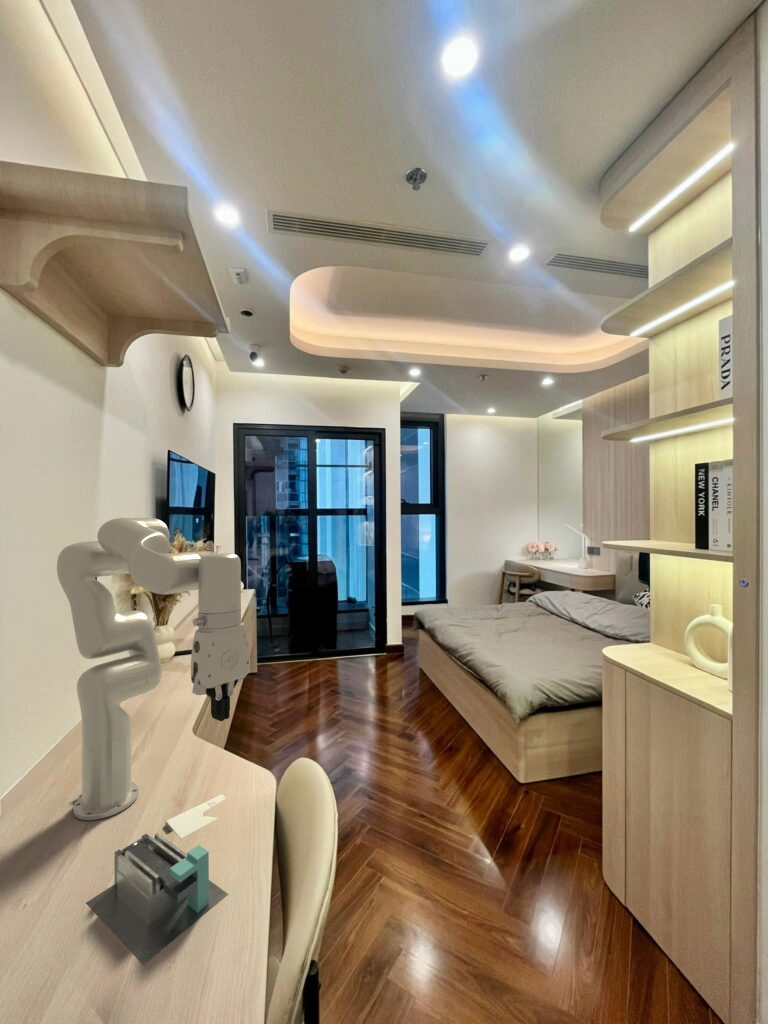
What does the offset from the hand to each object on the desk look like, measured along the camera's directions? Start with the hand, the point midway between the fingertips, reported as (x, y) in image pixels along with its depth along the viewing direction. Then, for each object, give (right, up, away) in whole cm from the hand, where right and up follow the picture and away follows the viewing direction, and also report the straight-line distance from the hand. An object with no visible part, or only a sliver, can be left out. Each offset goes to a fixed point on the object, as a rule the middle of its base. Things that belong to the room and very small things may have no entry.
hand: (220, 717), depth 82 cm
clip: (-1, -26, -11) cm, 28 cm away
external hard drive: (-8, -28, +12) cm, 32 cm away
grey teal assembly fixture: (-7, -27, -9) cm, 29 cm away
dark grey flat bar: (-7, -22, -9) cm, 24 cm away
